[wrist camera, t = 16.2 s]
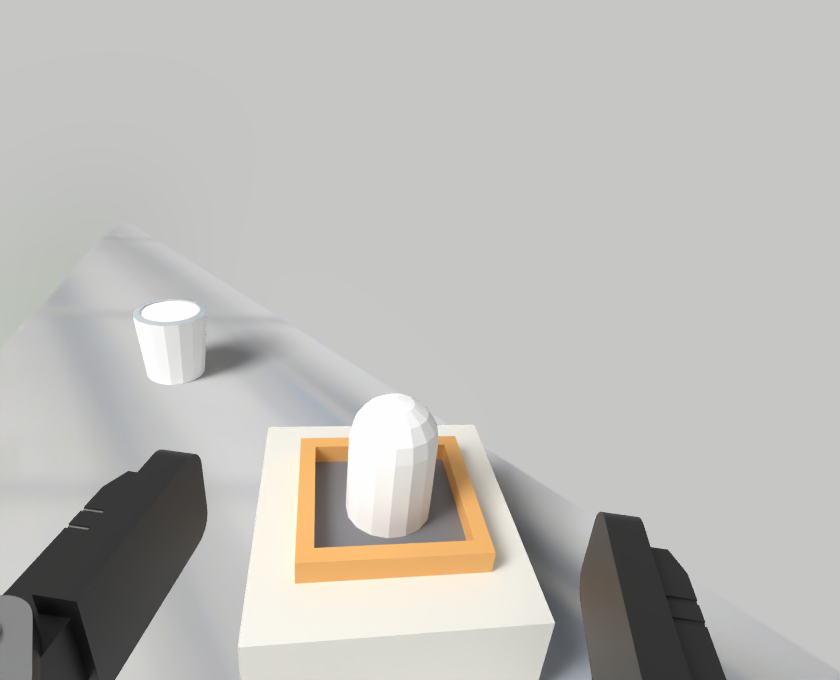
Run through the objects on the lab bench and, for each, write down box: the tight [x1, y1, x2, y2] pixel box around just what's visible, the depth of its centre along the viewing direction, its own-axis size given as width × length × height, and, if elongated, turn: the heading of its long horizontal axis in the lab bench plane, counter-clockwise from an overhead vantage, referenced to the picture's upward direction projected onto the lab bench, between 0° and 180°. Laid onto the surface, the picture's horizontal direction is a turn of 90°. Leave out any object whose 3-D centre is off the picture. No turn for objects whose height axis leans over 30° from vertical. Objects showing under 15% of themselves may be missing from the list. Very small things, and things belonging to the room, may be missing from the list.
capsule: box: [346, 393, 439, 538], centre depth 35 cm, size 5×5×8 cm
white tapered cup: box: [133, 298, 207, 385], centre depth 59 cm, size 7×7×7 cm
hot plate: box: [238, 425, 555, 680], centre depth 39 cm, size 16×21×8 cm
